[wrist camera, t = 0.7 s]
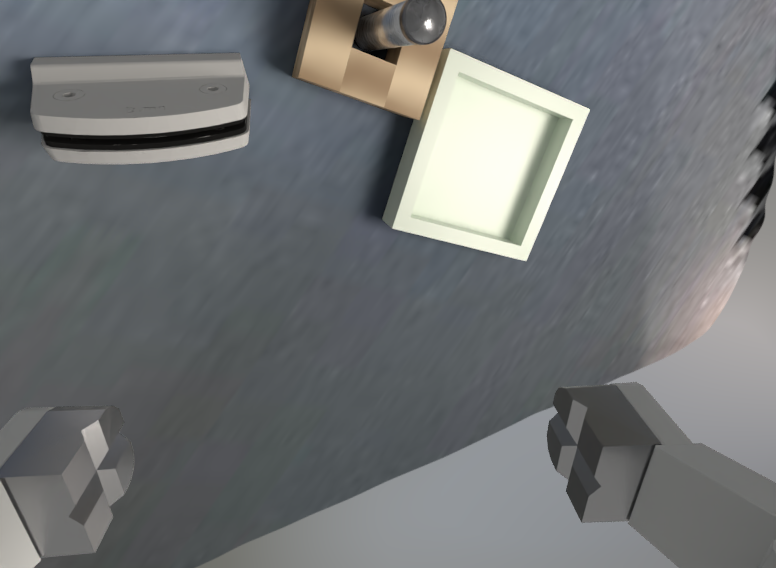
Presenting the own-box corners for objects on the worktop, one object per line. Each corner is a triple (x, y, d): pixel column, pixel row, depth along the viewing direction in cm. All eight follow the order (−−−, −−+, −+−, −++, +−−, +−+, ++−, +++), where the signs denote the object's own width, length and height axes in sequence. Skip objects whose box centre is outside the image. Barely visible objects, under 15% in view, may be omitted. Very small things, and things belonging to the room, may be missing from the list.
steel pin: (358, 8, 44) (412, -16, 32) (389, 22, 46) (452, 3, 33) (348, 45, 45) (398, 34, 33) (379, 57, 46) (437, 51, 34)
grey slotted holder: (244, 52, 43) (258, 97, 36) (250, 104, 46) (264, 155, 39) (28, 57, 38) (-3, 110, 31) (52, 115, 41) (29, 174, 35)
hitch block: (325, -67, 41) (336, -80, 38) (444, -9, 46) (462, -16, 43) (291, 76, 45) (298, 77, 41) (405, 117, 50) (419, 120, 46)
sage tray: (435, 49, 48) (450, 48, 45) (569, 107, 55) (590, 109, 52) (381, 219, 53) (392, 228, 50) (510, 251, 60) (526, 261, 57)
